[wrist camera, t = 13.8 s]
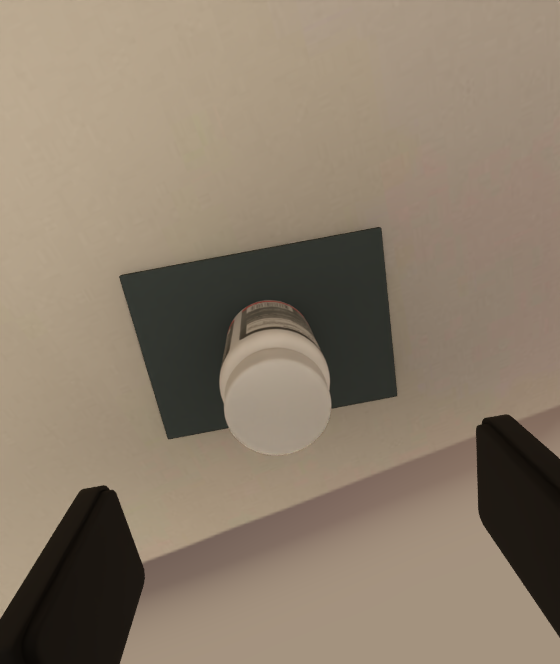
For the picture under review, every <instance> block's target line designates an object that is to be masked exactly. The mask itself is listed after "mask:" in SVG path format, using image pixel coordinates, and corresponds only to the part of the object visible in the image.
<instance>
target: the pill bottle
mask: <svg viewBox="0 0 560 664" xmlns="http://www.w3.org/2000/svg"><path fill="white" fill-rule="evenodd" d="M219 384H220V393H221V397H222V400H223V402H224V414H225V419H226V422H227V425H228V427H229V429H230V431H231V432H232V434H233V435H234V437H235V438H236V439H237V440H238V441H239V442H240V443H242V444H243V445H244V446H246V447H247V448H249V449H251V450H253V451H255V452H258V453H262V454H267V455H287V454H291V453H294V452H297V451H300V450H302V449H304V448H306V447H307V446H309V445H310V444H312V443H313V442H314V441H315V440H316V439H317V438H318V437H319V436H320V435H321V434H322V432H323V431H324V429H325V428H326V426H327V424H328V421H329V418H330V413H331V397H330V392H329V388H330V376H329V370H328V366H327V363H326V360H325V358H324V356H323V354H322V352H321V350H320V348H319V346H318V343H317V342H316V340H315V337H314V335H313V333H312V331H311V329H310V326H309V324H308V323H307V321H306V320H305V318H304V317H303V315H302V314H301V313H300V312H299V311H298V310H297V309H295V308H294V307H292V306H291V305H289V304H286V303H284V302H280V301H275V300H264V301H259V302H256V303H253V304H251V305H249V306H247V307H245V308H244V309H243V310H241V311H240V312H239V313H238V314H237V315H236V317H235V318H234V319H233V321H232V323H231V325H230V327H229V330H228V333H227V339H226V344H225V350H224V355H223V360H222V365H221V370H220V380H219Z"/></svg>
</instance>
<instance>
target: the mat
mask: <svg viewBox="0 0 560 664" xmlns="http://www.w3.org/2000/svg"><path fill="white" fill-rule="evenodd" d="M119 278H120V281H121V284H122V288H123V291H124V294H125V298H126V301H127V304H128V308H129V311H130V314H131V318H132V321H133V324H134V327H135V331H136V334H137V337H138V341H139V344H140V347H141V351H142V354H143V357H144V361H145V364H146V367H147V371H148V374H149V377H150V381H151V384H152V387H153V391H154V394H155V397H156V401H157V404H158V407H159V411H160V414H161V417H162V421H163V424H164V427H165V431H166V434H167V437H168V439H173V438H178V437H183V436H189V435H194V434H199V433H205V432H210V431H215V430H221V429H226V428H229V427H228V425H227V422H226V419H225V414H224V402H223V400H222V397H221V393H220V384H219V380H220V370H221V365H222V360H223V355H224V350H225V344H226V339H227V333H228V330H229V327H230V325H231V323H232V321H233V319H234V318H235V317H236V315H237V314H238V313H239V312H240V311H241V310H243V309H244V308H245V307H247V306H249V305H251V304H253V303H256V302H259V301H264V300H275V301H280V302H284V303H286V304H289V305H291V306H292V307H294V308H295V309H297V310H298V311H299V312H300V313H301V314H302V315H303V317H304V318H305V320H306V321H307V323H308V324H309V326H310V329H311V331H312V333H313V335H314V337H315V340H316V342H317V343H318V346H319V348H320V350H321V352H322V354H323V356H324V358H325V360H326V363H327V366H328V370H329V376H330V388H329V392H330V397H331V409H332V408H337V407H342V406H348V405H353V404H358V403H364V402H369V401H374V400H379V399H385V398H390V397H395V396H397V387H396V376H395V366H394V356H393V345H392V335H391V324H390V314H389V303H388V293H387V283H386V272H385V262H384V251H383V241H382V231H381V228H380V227H377V228H372V229H366V230H361V231H356V232H350V233H345V234H340V235H334V236H329V237H323V238H318V239H313V240H307V241H302V242H296V243H291V244H286V245H280V246H275V247H270V248H264V249H259V250H253V251H248V252H243V253H237V254H232V255H227V256H221V257H216V258H210V259H205V260H200V261H194V262H189V263H183V264H178V265H173V266H167V267H162V268H157V269H151V270H146V271H140V272H135V273H130V274H124V275H121V276H119Z"/></svg>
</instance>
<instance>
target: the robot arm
mask: <svg viewBox="0 0 560 664" xmlns="http://www.w3.org/2000/svg"><path fill="white" fill-rule="evenodd" d="M476 442H477V478H478V510H479V515H480V518H481V521H482V523H483V525H484V526H485V528H486V530H487V531H488V533H489V534H490V535H491V537H492V538H493V540H494V541H495V543H496V544H497V546H498V547H499V549H500V550H501V552H502V553H503V555H504V556H505V558H506V559H507V560H508V562H509V563H510V565H511V566H512V568H513V569H514V571H515V572H516V574H517V575H518V577H519V578H520V579H521V581H522V583H523V584H524V586H525V587H526V589H527V590H528V591H529V593H530V594H531V596H532V597H533V599H534V600H535V602H536V603H537V605H538V606H539V608H540V609H541V611H542V612H543V613H544V615H545V616H546V618H547V619H548V621H549V622H550V624H551V625H552V627H553V628H554V630H555V631H556V632H557V634H558V635H559V637H560V459H559V458H558V457H557V456H556V455H555V454H554V453H553V452H551V451H550V450H549V449H548V448H547V447H546V446H544V445H543V444H542V443H541V442H540V441H539V440H538V439H537V438H535V437H534V436H533V435H532V434H531V433H530V432H528V431H527V430H526V429H525V428H524V427H522V425H520V424H519V423H518V422H517V421H516V420H515V419H514V418H512V417H511V416H510V415H507V414H505V415H500V416H494V417H488V418H484V419H483V421H482V425H478V426H477V428H476ZM144 576H145V574H144V568H143V565H142V562H141V559H140V557H139V554H138V551H137V548H136V546H135V543H134V540H133V538H132V535H131V532H130V529H129V527H128V524H127V521H126V518H125V516H124V513H123V510H122V508H121V505H120V502H119V499H118V497H117V494H116V492H115V491H114V490H109V488H108V487H107V486H104V485H103V486H98V487H92V488H86V489H82V490H81V491H80V492H79V493H78V495H77V496H76V498H75V499H74V501H73V503H72V504H71V506H70V507H69V509H68V511H67V512H66V514H65V516H64V517H63V519H62V520H61V522H60V524H59V525H58V527H57V528H56V530H55V532H54V533H53V535H52V537H51V538H50V540H49V541H48V543H47V545H46V546H45V548H44V549H43V551H42V553H41V554H40V556H39V558H38V559H37V561H36V562H35V564H34V566H33V567H32V569H31V570H30V572H29V574H28V575H27V577H26V578H25V580H24V582H23V583H22V585H21V587H20V588H19V590H18V591H17V593H16V595H15V596H14V598H13V599H12V601H11V603H10V604H9V606H8V608H7V609H6V611H5V612H4V614H3V616H2V617H1V619H0V664H120V661H121V657H122V654H123V651H124V648H125V644H126V641H127V638H128V635H129V631H130V628H131V625H132V621H133V618H134V615H135V611H136V608H137V605H138V602H139V598H140V595H141V592H142V589H143V585H144V579H145V577H144Z"/></svg>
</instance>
